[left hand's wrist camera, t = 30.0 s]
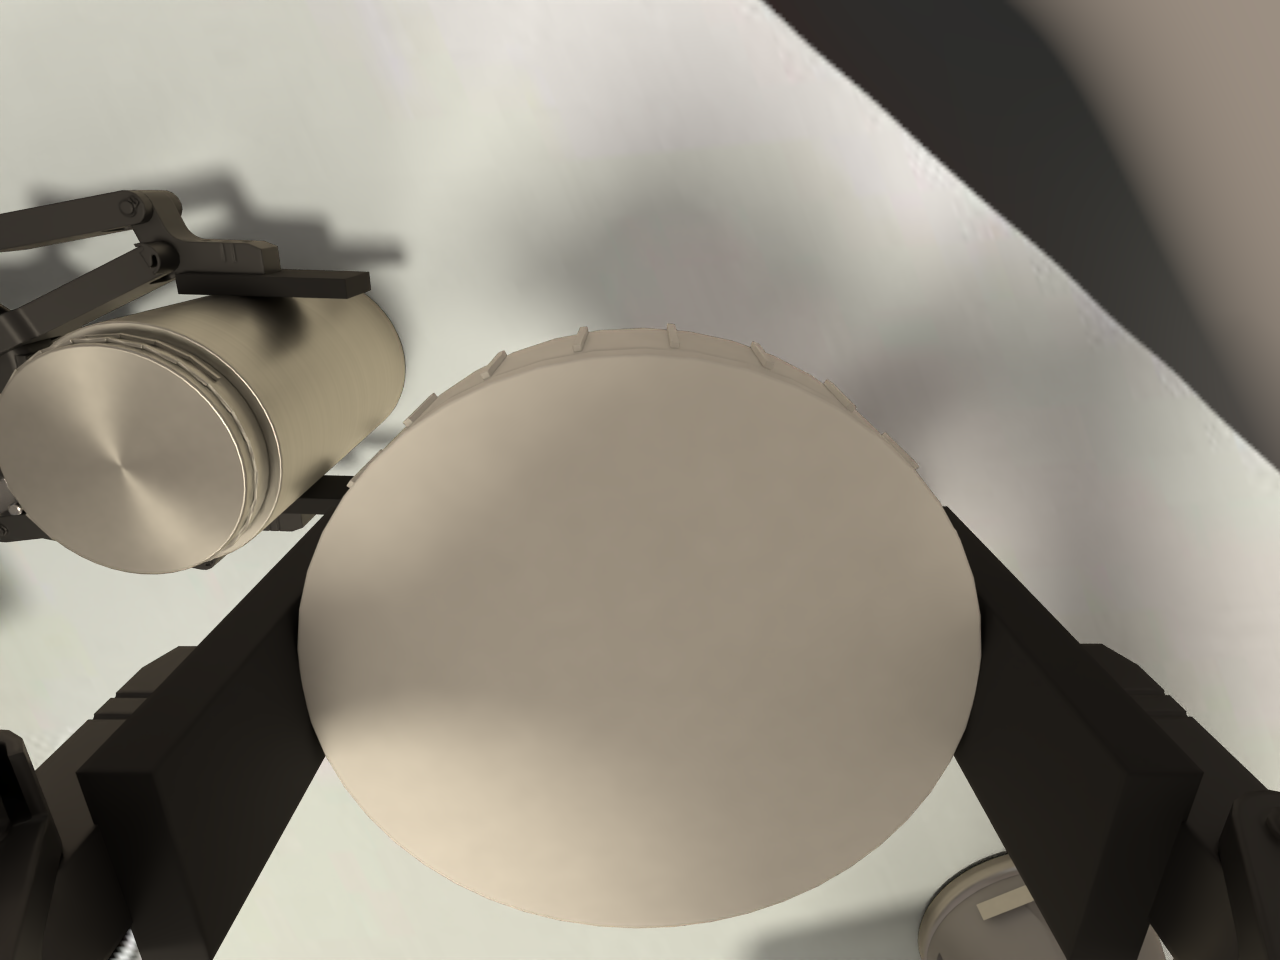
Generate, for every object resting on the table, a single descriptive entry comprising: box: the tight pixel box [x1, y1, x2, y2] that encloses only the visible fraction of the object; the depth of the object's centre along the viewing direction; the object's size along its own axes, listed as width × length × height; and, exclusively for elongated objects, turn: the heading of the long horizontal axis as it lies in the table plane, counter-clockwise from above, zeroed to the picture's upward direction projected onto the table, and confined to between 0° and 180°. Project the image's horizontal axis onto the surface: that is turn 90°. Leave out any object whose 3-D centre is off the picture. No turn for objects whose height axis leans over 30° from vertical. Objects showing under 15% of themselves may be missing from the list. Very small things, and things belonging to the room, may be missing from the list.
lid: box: [297, 324, 981, 928], centre depth 11 cm, size 10×10×2 cm
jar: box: [0, 293, 405, 574], centre depth 30 cm, size 8×8×16 cm
